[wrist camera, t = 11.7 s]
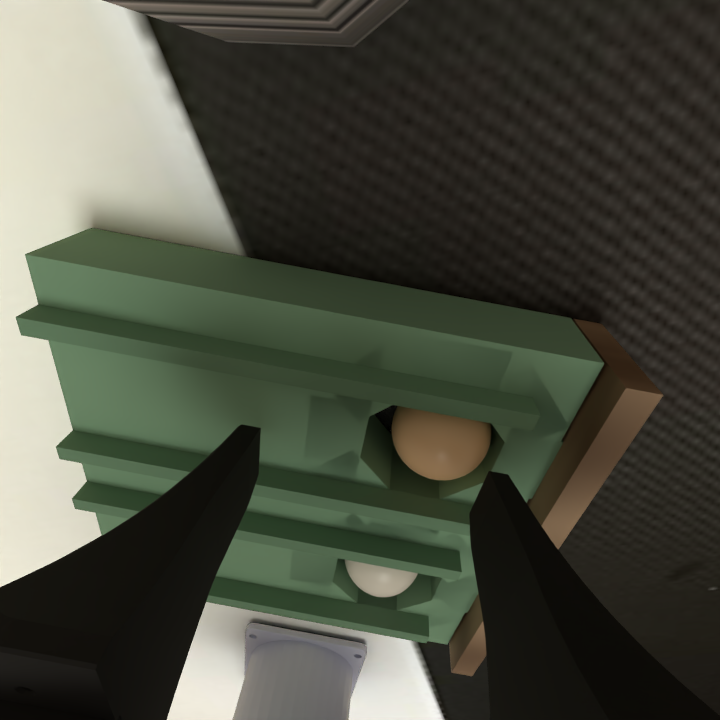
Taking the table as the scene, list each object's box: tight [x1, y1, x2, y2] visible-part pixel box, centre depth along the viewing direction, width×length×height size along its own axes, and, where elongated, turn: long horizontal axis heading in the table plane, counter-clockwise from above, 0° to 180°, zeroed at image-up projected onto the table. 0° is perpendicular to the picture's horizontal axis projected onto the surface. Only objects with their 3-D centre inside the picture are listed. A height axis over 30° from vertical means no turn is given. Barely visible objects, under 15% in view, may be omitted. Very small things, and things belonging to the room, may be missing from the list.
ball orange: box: [392, 406, 491, 480], centre depth 16 cm, size 4×4×4 cm
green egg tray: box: [16, 228, 604, 644], centre depth 18 cm, size 17×17×4 cm
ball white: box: [345, 560, 418, 597], centre depth 20 cm, size 4×4×4 cm
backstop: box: [449, 319, 663, 676], centre depth 17 cm, size 17×1×4 cm, turn 171°
